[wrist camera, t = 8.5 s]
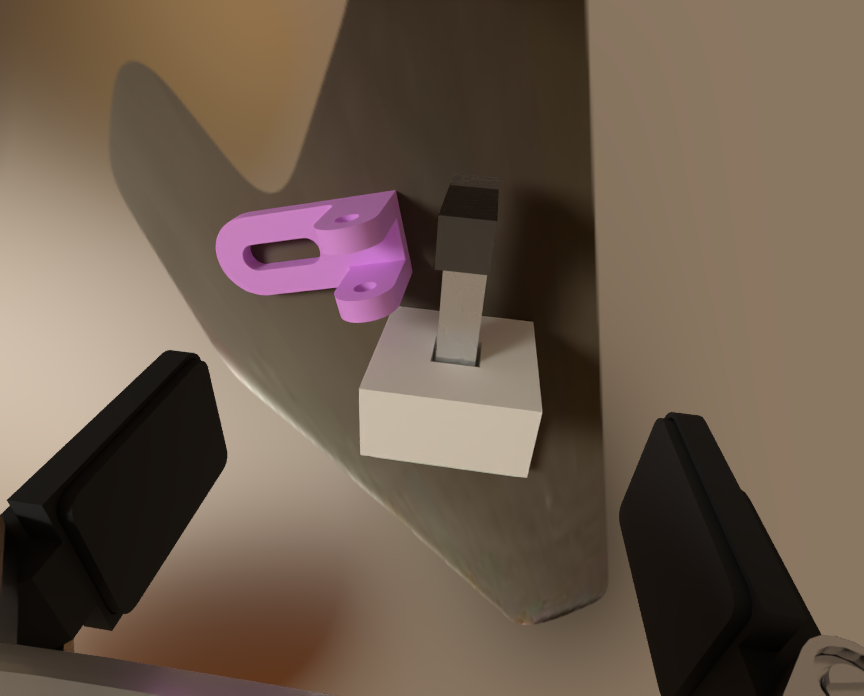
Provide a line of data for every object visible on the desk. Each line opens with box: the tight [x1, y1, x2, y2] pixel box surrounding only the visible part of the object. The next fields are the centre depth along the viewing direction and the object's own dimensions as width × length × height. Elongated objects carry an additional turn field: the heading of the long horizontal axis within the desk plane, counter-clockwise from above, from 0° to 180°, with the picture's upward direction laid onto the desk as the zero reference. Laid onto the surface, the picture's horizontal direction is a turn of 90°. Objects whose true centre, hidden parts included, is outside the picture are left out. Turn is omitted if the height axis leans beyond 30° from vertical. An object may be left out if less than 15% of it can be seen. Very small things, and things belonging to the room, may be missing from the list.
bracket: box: [216, 190, 413, 323], centre depth 31 cm, size 13×6×7 cm, turn 100°
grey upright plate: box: [435, 174, 499, 367], centre depth 27 cm, size 13×2×7 cm, turn 177°
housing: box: [359, 306, 542, 478], centre depth 32 cm, size 5×10×10 cm, turn 87°
